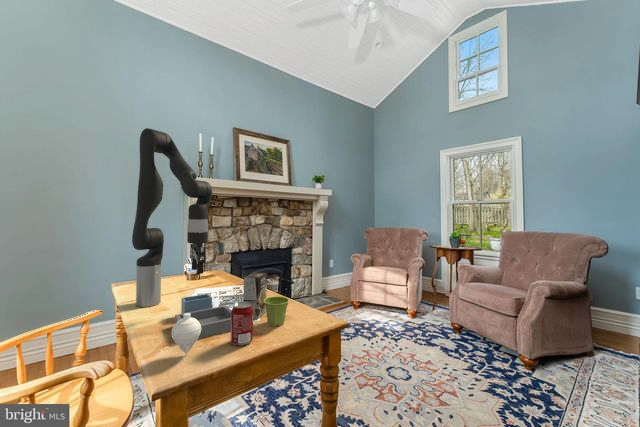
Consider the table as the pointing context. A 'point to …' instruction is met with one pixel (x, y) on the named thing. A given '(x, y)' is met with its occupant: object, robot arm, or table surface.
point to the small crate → (196, 303)
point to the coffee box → (256, 292)
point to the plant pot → (276, 310)
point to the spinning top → (186, 332)
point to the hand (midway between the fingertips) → (197, 271)
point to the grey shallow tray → (211, 320)
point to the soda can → (241, 323)
